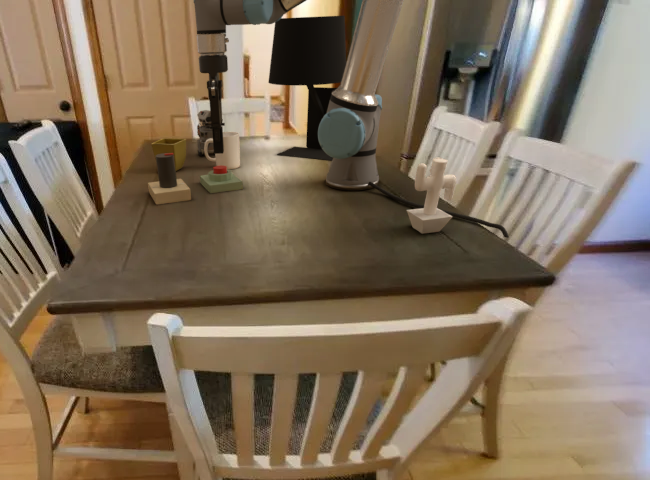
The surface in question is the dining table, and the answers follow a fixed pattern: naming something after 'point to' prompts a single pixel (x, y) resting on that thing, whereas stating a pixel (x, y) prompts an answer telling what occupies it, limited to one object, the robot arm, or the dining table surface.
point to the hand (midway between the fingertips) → (218, 152)
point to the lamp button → (220, 169)
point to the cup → (227, 151)
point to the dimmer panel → (169, 192)
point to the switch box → (221, 182)
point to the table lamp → (309, 68)
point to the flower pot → (171, 149)
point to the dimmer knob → (166, 170)
